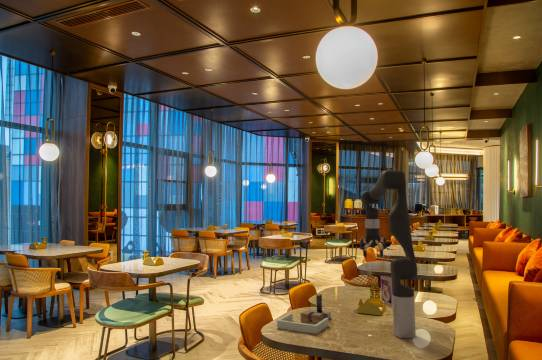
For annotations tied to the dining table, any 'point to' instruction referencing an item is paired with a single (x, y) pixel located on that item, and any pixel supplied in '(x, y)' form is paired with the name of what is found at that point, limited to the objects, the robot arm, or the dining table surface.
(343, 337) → the dining table surface
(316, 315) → the walnut block
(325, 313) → the scraper
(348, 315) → the dining table surface
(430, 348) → the dining table surface
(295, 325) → the tray
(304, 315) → the walnut block
